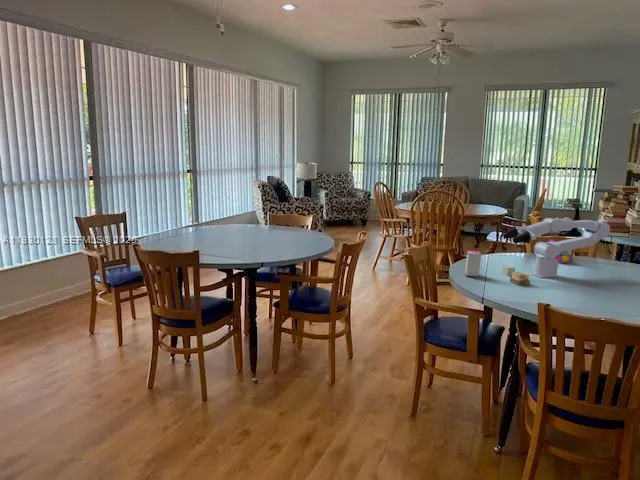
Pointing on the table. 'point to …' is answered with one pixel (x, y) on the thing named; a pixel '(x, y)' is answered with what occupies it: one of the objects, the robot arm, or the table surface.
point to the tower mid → (520, 276)
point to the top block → (508, 270)
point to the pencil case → (564, 255)
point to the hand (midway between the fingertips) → (508, 238)
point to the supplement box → (472, 264)
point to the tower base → (519, 282)
